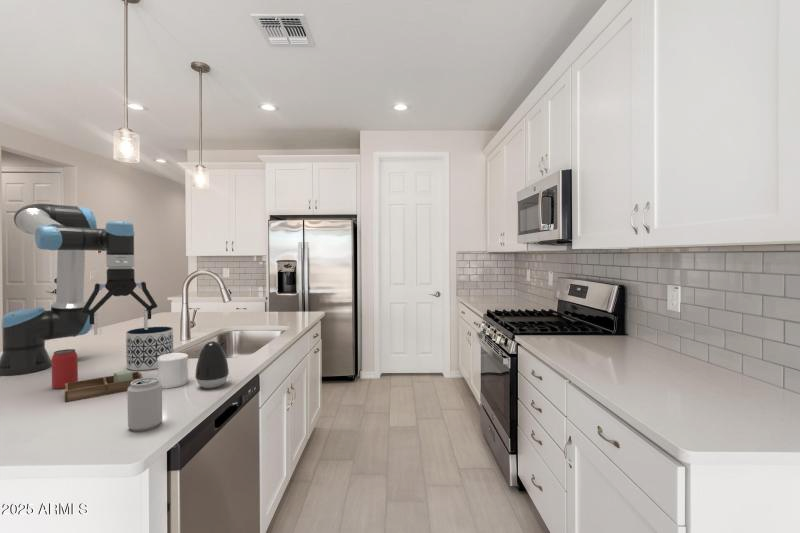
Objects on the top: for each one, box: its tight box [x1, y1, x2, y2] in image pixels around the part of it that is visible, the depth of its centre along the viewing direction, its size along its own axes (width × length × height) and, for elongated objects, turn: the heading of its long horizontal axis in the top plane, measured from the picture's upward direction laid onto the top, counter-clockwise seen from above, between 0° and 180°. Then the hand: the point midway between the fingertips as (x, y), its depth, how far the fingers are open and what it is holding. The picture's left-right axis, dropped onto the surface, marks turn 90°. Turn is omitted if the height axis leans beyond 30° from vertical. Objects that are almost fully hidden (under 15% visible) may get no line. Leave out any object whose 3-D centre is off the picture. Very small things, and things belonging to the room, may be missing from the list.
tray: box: [64, 371, 144, 403], centre depth 126 cm, size 10×20×3 cm, turn 131°
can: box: [126, 376, 163, 432], centre depth 99 cm, size 8×8×12 cm
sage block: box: [113, 369, 133, 383], centre depth 129 cm, size 4×4×4 cm
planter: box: [125, 326, 174, 372], centre depth 155 cm, size 16×16×14 cm
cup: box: [156, 352, 189, 389], centre depth 132 cm, size 10×10×10 cm
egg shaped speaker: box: [194, 340, 230, 389], centre depth 130 cm, size 10×10×15 cm
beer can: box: [51, 348, 79, 390], centre depth 130 cm, size 7×7×12 cm
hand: (121, 331), depth 128 cm, fingers open, 13 cm apart
